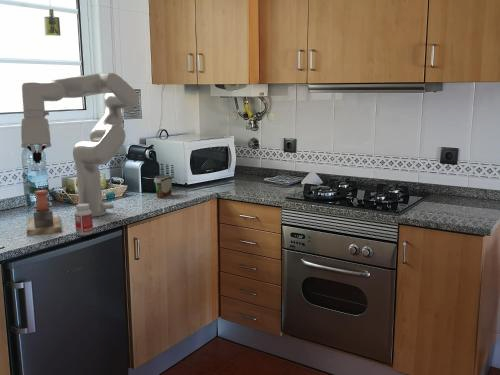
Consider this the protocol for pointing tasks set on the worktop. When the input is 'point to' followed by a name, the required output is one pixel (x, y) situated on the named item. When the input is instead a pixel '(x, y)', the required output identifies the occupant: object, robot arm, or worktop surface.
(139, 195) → the worktop surface
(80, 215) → the pill bottle
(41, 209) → the red plug
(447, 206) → the worktop surface
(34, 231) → the board
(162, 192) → the food container
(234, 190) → the worktop surface
